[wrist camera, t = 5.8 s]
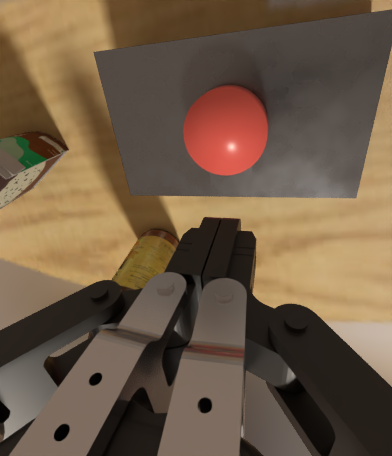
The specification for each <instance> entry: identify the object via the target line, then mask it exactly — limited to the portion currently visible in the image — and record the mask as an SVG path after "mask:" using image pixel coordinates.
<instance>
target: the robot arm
mask: <svg viewBox="0 0 392 456" xmlns="http://www.w3.org/2000/svg"><path fill="white" fill-rule="evenodd" d="M255 268H256V238H255V236H254V234H253V233H252V231H241V220H240V219H234V218H212V217H204V218H203V221H202V223H201V225H200V227H199V228H191V229H190V230H188V231H187V232H186V233H185V234H183V236H182V238H181V240H180V242H179V244H178V246H177V248H176V251H175V252H174V254H173V256H172V258H171V259H170V261H169V263H168V265H167V267H166V269H165V271H164V273H161V274H158V275H156V276H154V277H152V278H151V279H150V280H149V281H148V282H147V283H146V285H145V286H144V288H141V289H135V290H127V291H122V290H121V287H120V285H119V284H118V283H117V282H115V281H111V280H103V281H99V282H96V283H94V284H91V285H89V286H88V287H86V288H84V289H82V290H80V291H78V292H76V293H74V294H72V295H70V296H68V297H66V298H64V299H62V300H60V301H58V302H56V303H54V304H52V305H50V306H48V307H46V308H44V309H42V310H40V311H38V312H36V313H34V314H32V315H30V316H28V317H26V318H24V319H22V320H20V321H18V322H16V323H14V324H12V325H10V326H8V327H6V328H4V329H2V330H0V456H263V455H262V454H261V453H260V452H259V451H258V450H257V449H256V448H255V447H254V446H253V445H251V444H250V443H249V442H248V441H246V440H245V439H244V421H245V419H244V418H245V384H246V370H247V371H249V372H251V373H252V374H254V375H256V376H258V377H260V378H261V379H263V380H265V381H266V384H267V386H268V388H269V390H270V392H271V393H272V394H273V396H274V398H275V399H276V401H277V402H278V404H279V405H280V407H281V409H282V410H283V412H284V413H285V415H286V416H287V418H288V419H289V421H290V422H291V424H292V426H293V427H294V429H295V430H296V432H297V433H298V435H299V436H300V438H301V439H302V441H303V443H304V444H305V446H306V447H307V449H308V450H309V452H310V453H311V455H312V456H392V387H391V386H390V385H389V384H388V383H387V382H386V381H385V380H384V379H383V378H382V377H381V376H380V375H379V374H378V373H377V372H376V371H375V370H374V369H373V368H372V367H371V366H369V365H368V364H367V363H366V362H365V361H364V360H363V359H362V358H361V357H360V356H359V355H358V354H357V353H356V352H355V351H354V350H353V349H352V348H351V347H350V346H349V345H348V344H347V343H346V342H345V341H343V339H341V338H340V337H339V336H338V335H337V334H336V333H335V332H334V331H333V330H332V329H331V328H330V327H329V326H328V325H327V324H326V323H325V322H324V321H323V320H322V319H321V318H320V317H319V316H318V315H317V314H315V313H314V312H313V311H312V310H310V309H309V308H306V307H304V306H301V305H297V304H284V305H281V306H278V307H276V308H275V309H274V308H272V307H269V306H267V305H265V304H263V303H261V302H260V301H258V300H257V299H256V298H255V297H254V296H253V294H252V293H253V285H254V277H255ZM90 331H91V333H92V335H93V336H92V337H91V338H89V339H87V340H86V341H84V342H82V343H81V344H79V345H77V346H76V347H74V348H72V349H71V350H69V351H67V352H66V353H64V354H62V355H60V356H58V357H50V356H49V355H51V354H52V353H54V352H55V351H57V350H59V349H61V348H62V347H64V346H66V345H67V344H69V343H71V342H72V341H74V340H76V339H78V338H79V337H81V336H83V335H85V334H86V333H88V332H90Z"/></svg>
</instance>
